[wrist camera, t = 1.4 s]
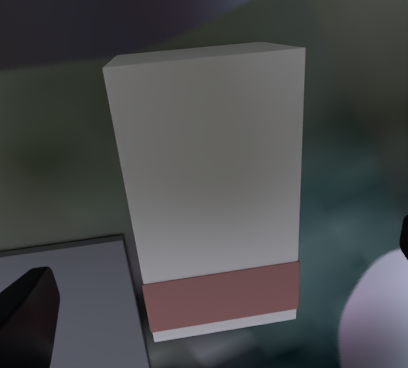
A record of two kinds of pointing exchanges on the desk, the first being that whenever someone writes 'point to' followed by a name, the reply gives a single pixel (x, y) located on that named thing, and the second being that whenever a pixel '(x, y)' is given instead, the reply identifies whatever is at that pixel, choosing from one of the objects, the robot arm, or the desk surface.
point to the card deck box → (212, 181)
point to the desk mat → (88, 302)
